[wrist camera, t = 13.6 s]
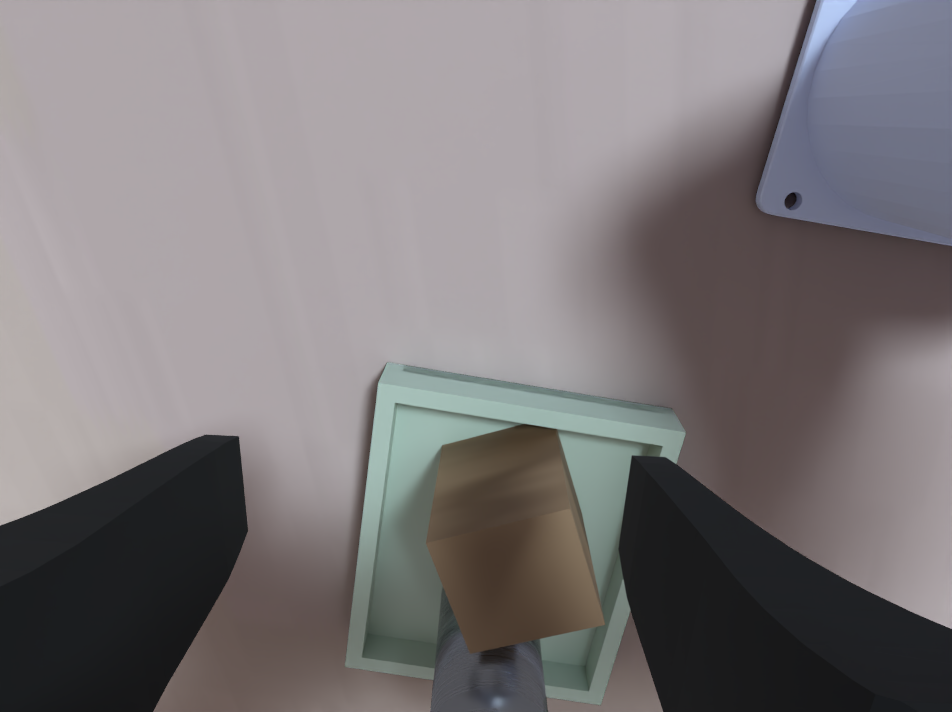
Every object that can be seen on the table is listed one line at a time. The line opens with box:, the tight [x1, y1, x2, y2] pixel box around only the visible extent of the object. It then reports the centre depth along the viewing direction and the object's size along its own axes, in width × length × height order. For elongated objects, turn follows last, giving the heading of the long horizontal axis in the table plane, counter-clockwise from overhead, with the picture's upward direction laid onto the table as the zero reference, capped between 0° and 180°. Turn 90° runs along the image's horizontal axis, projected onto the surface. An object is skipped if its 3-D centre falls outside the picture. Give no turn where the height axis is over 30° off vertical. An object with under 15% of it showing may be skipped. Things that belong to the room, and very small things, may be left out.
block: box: [426, 424, 605, 654], centre depth 20 cm, size 4×4×6 cm
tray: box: [345, 362, 686, 705], centre depth 24 cm, size 10×12×2 cm
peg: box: [431, 587, 548, 712], centre depth 22 cm, size 4×4×6 cm
